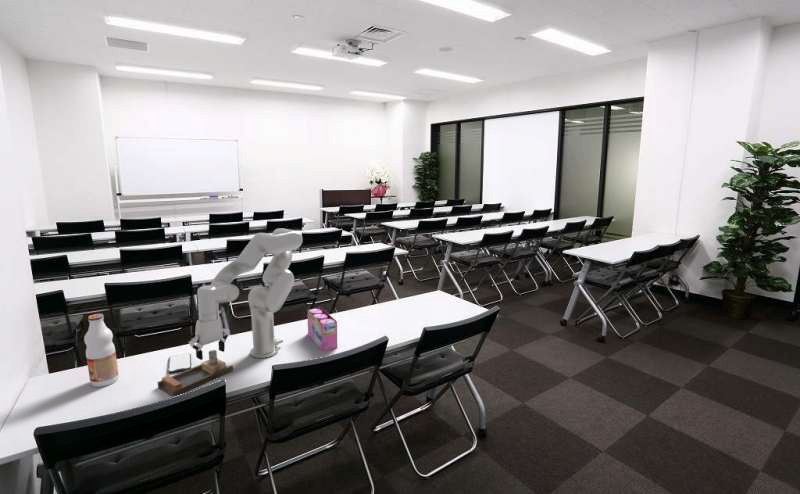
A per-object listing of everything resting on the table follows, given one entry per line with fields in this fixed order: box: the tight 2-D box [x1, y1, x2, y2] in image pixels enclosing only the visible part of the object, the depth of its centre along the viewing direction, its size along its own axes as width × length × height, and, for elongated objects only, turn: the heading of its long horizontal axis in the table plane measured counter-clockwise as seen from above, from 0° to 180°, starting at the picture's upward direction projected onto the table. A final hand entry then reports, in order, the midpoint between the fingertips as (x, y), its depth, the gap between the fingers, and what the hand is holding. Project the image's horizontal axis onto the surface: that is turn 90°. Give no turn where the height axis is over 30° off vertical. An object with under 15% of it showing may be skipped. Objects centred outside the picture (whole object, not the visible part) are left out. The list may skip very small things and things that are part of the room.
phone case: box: [167, 353, 192, 375], centre depth 182 cm, size 9×2×16 cm
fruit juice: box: [83, 313, 120, 388], centre depth 164 cm, size 9×9×28 cm
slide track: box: [157, 357, 234, 398], centre depth 169 cm, size 25×12×4 cm, turn 145°
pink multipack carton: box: [307, 306, 338, 352], centre depth 206 cm, size 24×8×14 cm, turn 30°
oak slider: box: [200, 349, 227, 374], centre depth 174 cm, size 6×8×8 cm
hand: (211, 354), depth 173 cm, fingers open, 9 cm apart
